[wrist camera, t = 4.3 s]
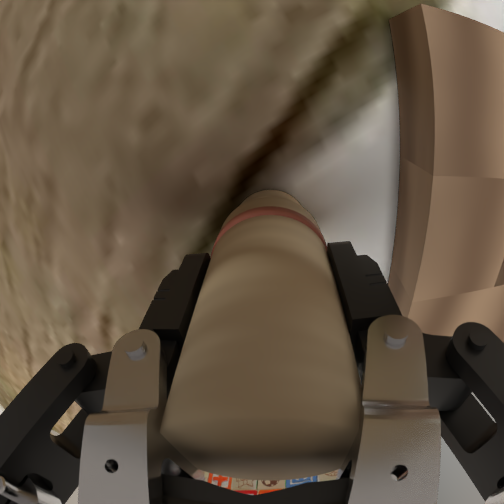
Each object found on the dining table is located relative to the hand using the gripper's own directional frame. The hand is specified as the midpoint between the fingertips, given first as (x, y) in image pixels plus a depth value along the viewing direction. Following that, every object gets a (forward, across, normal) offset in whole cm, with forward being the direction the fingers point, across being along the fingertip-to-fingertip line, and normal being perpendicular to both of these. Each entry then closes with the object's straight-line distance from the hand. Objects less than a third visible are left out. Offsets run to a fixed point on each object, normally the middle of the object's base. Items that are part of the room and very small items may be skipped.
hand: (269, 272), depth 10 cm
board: (+4, -14, 0) cm, 14 cm away
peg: (+4, 0, 0) cm, 4 cm away
